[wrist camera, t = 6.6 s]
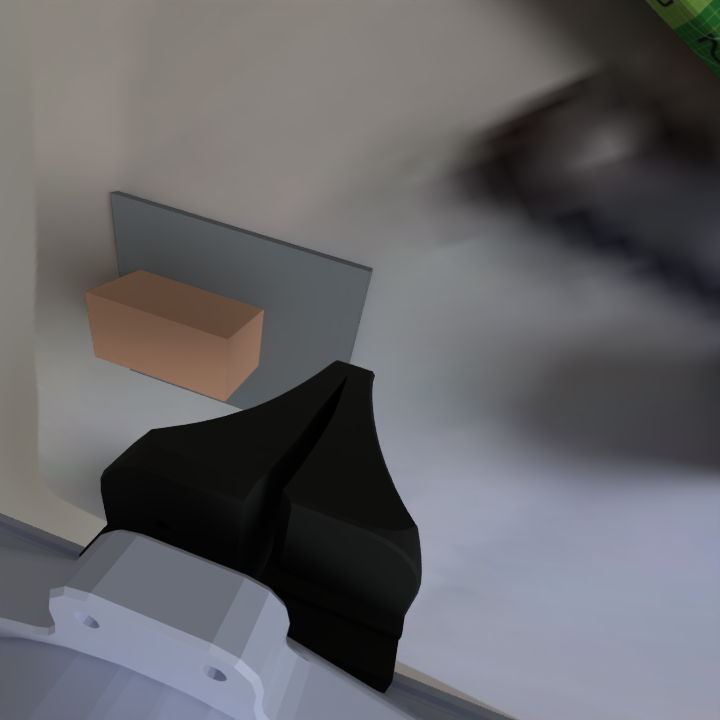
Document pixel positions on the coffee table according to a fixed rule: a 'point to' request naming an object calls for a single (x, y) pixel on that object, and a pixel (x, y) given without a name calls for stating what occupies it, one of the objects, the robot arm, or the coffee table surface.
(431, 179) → the coffee table surface
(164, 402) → the coffee table surface
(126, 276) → the tall block
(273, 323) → the mat
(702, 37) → the puzzle game
